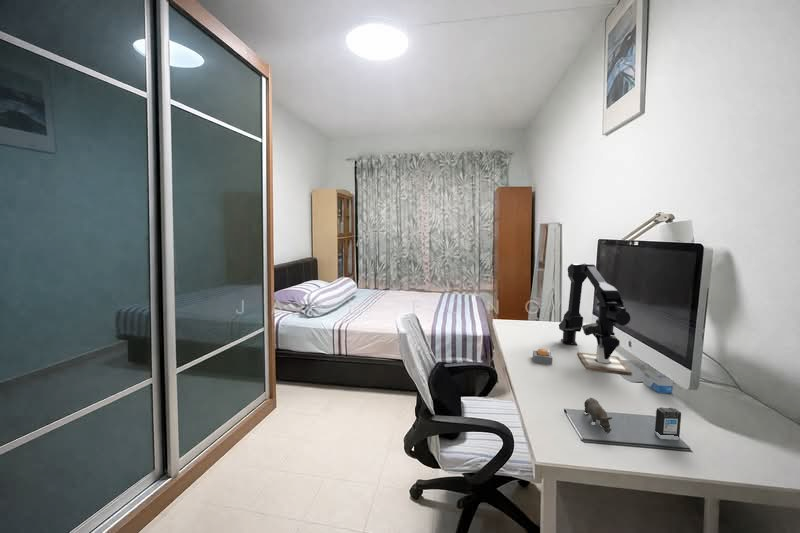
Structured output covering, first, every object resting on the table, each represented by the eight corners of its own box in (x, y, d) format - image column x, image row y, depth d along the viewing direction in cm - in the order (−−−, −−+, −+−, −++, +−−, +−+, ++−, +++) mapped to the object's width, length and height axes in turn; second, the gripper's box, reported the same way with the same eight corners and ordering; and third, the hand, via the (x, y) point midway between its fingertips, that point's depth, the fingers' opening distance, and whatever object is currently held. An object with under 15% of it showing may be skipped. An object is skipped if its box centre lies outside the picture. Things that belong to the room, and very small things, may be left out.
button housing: (532, 356, 152) (533, 350, 152) (550, 358, 150) (550, 352, 150) (533, 362, 146) (534, 355, 146) (552, 364, 144) (552, 357, 143)
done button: (536, 355, 150) (537, 348, 150) (546, 356, 149) (547, 349, 149) (537, 358, 147) (538, 351, 146) (547, 359, 145) (548, 352, 145)
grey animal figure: (601, 439, 93) (602, 418, 92) (580, 412, 106) (581, 393, 106) (617, 440, 92) (619, 419, 91) (594, 413, 106) (596, 394, 105)
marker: (596, 358, 148) (597, 342, 147) (606, 360, 147) (608, 343, 146) (598, 362, 144) (599, 345, 144) (609, 363, 143) (610, 346, 142)
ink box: (673, 393, 120) (676, 360, 118) (658, 393, 120) (662, 360, 118) (655, 382, 128) (658, 351, 127) (642, 382, 128) (644, 351, 127)
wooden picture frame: (577, 354, 157) (577, 351, 157) (617, 358, 152) (618, 356, 152) (585, 369, 140) (586, 366, 139) (631, 374, 135) (631, 372, 135)
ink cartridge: (660, 440, 93) (662, 411, 92) (654, 435, 95) (656, 407, 94) (679, 440, 92) (681, 412, 92) (673, 435, 95) (675, 407, 94)
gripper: (580, 312, 155) (577, 346, 157) (589, 322, 137) (586, 360, 139) (608, 314, 152) (605, 349, 153) (621, 325, 134) (618, 364, 136)
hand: (603, 355), depth 145 cm, fingers open, 9 cm apart
